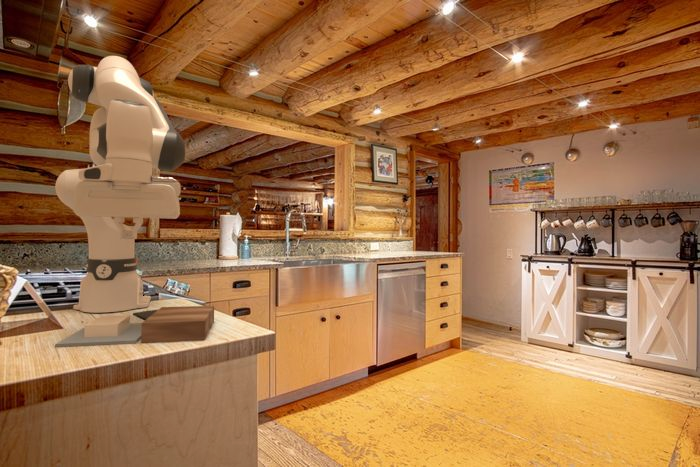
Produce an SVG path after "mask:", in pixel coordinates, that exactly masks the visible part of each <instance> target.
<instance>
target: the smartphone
mask: <svg viewBox="0 0 700 467" xmlns="http://www.w3.org/2000/svg"><path fill="white" fill-rule="evenodd" d="M158 310H159V309H152V310H146V311H145V310H143V311H138V312H133V313H132V316H135V317H136V318H139V319H140V320H143V321H145V320H146V319H147V318H149V317H150V316H151V315H152V314H154V313H155V312H156V311H158Z"/></svg>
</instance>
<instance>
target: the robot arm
mask: <svg viewBox="0 0 700 467" xmlns="http://www.w3.org/2000/svg"><path fill="white" fill-rule="evenodd" d="M67 84H68V88H69V91H70V92H71V95H72V97H74V99H75V100H77V101H80V102H82V103H85V104H88V103H89V104H93V105H96V106H98V107H99V108H97V109H96V110H95V111H94V112H93V115H92V117H91V121H90V124H89V125H90V126H89V156H90V157H89V158H90V159H91V161H92V162H93V163H94V164H95V165H94V166H91V167H87V168H73V169H65V170H63V171H62V172H61V173H60V174H59V175H58V177H57V179H56V181H55V185H54V187H55V193H56V196H57V198H58V199H59V200H60V202H62V203H63V205H65V206H67V207H69V208H70V209H71V210H72V211H73V213H74V214H75V215H76V216H77V217H79V218H80V220H82V222H83V224H84V227H85V229H86V234H87V242H88V258H87V259H86V264H85V267H86V272H87V274H86V275H85V276H84V277H82V279H81V280H80V288H79V296H78V304H74V305H73V307H72V310H76V311H77V310H78V311H81V312H84V313H95V314H96V313H115V312H125V311H129V310H133V309H134V310H135V309H143V308H148V307H149V305H150V303H151V301H152V300H151V299H152V297H151V295H144V294H145V291H144V281H143V280H142V279H141V277H140V275H139V273H138V272H137V269H138V263H139V262H138V258H137V257H135V246H136V245H135V240H137V238H138V231H139V230H140V228H141V227H142V226H143V224H144V219H169V220H170V219H173V220H174V219H178V218H179V216H180V215H181V208H180V206H181V205H180V200H179V199H180V198H179V197H180V195H181V193H182V191H181V190H182V186H181V183H180V181H178V179H175V178H174V177H170V176H168V177H167V176H166V177H163V176H153V169H157V170H162V171H165V172H167V171H168V172H172V171H175V170H176V169H177V168H179V167H180V166H182V165H183V163H184V162H185V159H186V158H185V157H186V146H185V142H184V139H183V137H182V136H181V135H180V134H179V133H178V131H177V130H176V129H175V128H174V125H173V123H172V122H171V120H170V118H169V116H168V115H167V112H166V110H165V109H164V107H163V105H162V104H161V102H160V101H159V100H158V99H156V97H155V92H154V89H153V86H152V84H151V82H149V81H148V80H146V79H144V78H142V77H140V76H139V75H138V72H137V70H136V69H135V67H134V65H133V64H132V63H131V62H130V61H129V60H127V59H126V58H125V57H121V56H119V55H108V56H105V57H104V58H102V59H101V60H100V62H99V63H98V65H97V66H92V65H90V64H77V65H74V66H73V67H72V69H71V71H70V72H69V74H68V77H67ZM126 218H129V219H130V218H131V219H132V223H134V226H133V228H132V227H131V226H129V225H127V224H126V223H125V219H126ZM124 223H125V224H124ZM143 295H144V296H143Z"/></svg>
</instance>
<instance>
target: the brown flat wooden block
mask: <svg viewBox="0 0 700 467" xmlns="http://www.w3.org/2000/svg"><path fill="white" fill-rule="evenodd" d="M157 310H158V311H156V312H155V313H154V314H152V315H151V316H150V317H149V318H147V319H146V320H143V321H142V322H141V323H142V329H141V339H140V343H141V344H148V343H149V344H150V343H167V342H168V343H170V342H173V343H174V342H190V341H191V342H192V341H206V339H207V337H208V334H209V333H210V330H211V328H212V326H213V325H214V323H215V305H191V306H189V305H187V306H185V305H184V306H162V307H160V308H158V309H157Z"/></svg>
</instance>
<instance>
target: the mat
mask: <svg viewBox="0 0 700 467" xmlns="http://www.w3.org/2000/svg"><path fill="white" fill-rule="evenodd" d="M84 328H85V327H83V328H82V329H80V330H77V331H76V332H74V333H72V334H70V335H69V336H67V337H65V338H63V339H61V340H59V341H58V342H56V343H55V344H54V347H55V348H64V347H83V346H87V347H88V346H107V345H108V346H109V345H126V344H127V345H129V344H132V345H133V344H137V343H138V342H139V341H141V329H142V322H130V327H129V328H127V329H126V330H125V331H123V332H122V333H121V334H120V335H118V336H109V337H87V338H84Z"/></svg>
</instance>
